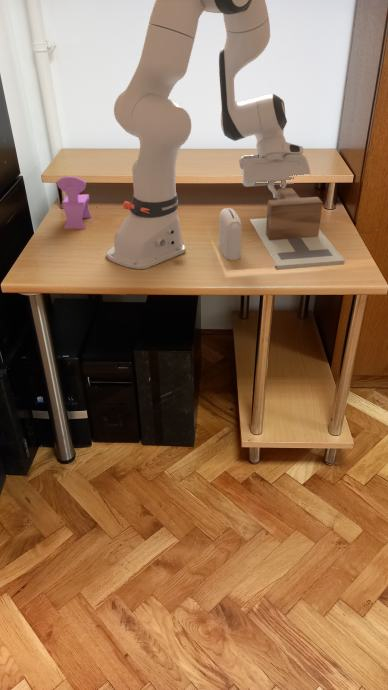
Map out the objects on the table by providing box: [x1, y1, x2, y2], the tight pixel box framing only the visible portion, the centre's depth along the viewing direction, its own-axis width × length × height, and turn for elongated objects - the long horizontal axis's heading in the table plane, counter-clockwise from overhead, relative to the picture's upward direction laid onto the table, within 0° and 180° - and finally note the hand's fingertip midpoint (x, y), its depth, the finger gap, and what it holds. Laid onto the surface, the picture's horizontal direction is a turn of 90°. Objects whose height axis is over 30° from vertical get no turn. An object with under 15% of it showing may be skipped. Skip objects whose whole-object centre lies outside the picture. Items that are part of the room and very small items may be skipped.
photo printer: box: [218, 207, 242, 261], centre depth 151 cm, size 10×4×12 cm, turn 11°
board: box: [249, 217, 345, 271], centre depth 160 cm, size 30×18×1 cm, turn 9°
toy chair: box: [56, 175, 92, 230], centre depth 169 cm, size 8×9×15 cm
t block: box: [266, 187, 324, 240], centre depth 162 cm, size 12×14×10 cm
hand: (279, 197), depth 170 cm, fingers closed
